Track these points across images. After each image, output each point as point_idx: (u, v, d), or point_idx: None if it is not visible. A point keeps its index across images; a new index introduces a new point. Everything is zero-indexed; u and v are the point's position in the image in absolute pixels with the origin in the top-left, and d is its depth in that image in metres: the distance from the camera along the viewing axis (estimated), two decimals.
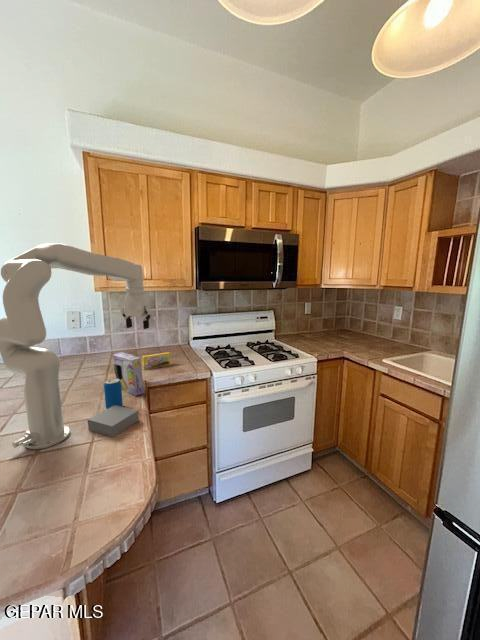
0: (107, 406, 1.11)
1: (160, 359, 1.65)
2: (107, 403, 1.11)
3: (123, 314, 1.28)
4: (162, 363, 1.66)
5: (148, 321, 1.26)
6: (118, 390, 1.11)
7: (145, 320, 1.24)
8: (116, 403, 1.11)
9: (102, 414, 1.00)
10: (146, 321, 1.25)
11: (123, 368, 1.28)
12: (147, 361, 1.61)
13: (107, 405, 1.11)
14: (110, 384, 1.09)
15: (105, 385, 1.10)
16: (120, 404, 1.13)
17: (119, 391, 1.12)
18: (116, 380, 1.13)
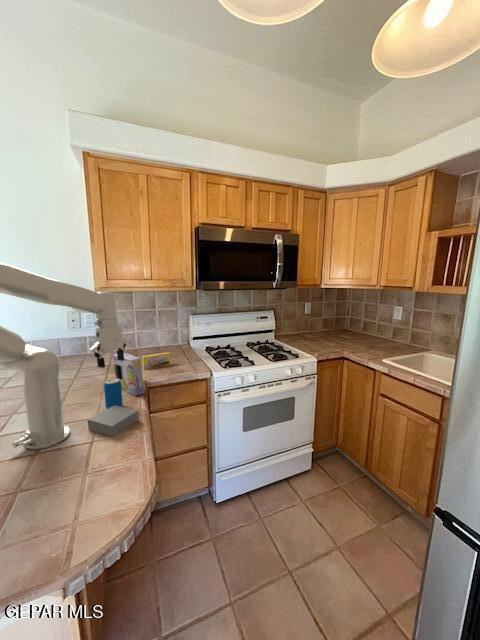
0: (107, 406, 1.11)
1: (160, 359, 1.65)
2: (107, 403, 1.11)
3: (97, 353, 1.04)
4: (162, 363, 1.66)
5: None
6: (118, 390, 1.11)
7: None
8: (116, 403, 1.11)
9: (102, 414, 1.00)
10: (123, 351, 1.16)
11: (123, 368, 1.28)
12: (147, 361, 1.61)
13: (107, 405, 1.11)
14: (110, 384, 1.09)
15: (105, 385, 1.10)
16: (120, 404, 1.13)
17: (119, 391, 1.12)
18: (116, 380, 1.13)
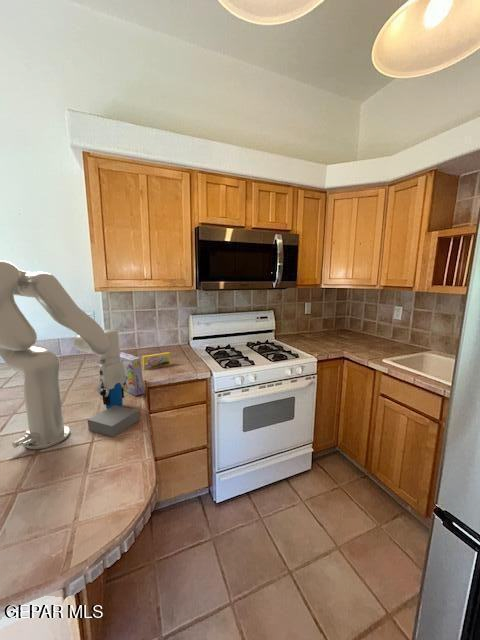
0: (107, 406, 1.11)
1: (160, 359, 1.65)
2: None
3: (102, 392, 1.07)
4: (162, 363, 1.66)
5: None
6: (118, 390, 1.11)
7: (123, 388, 1.16)
8: (116, 403, 1.11)
9: (102, 414, 1.00)
10: None
11: None
12: (147, 361, 1.61)
13: (107, 405, 1.11)
14: None
15: None
16: (120, 404, 1.13)
17: (119, 391, 1.12)
18: None
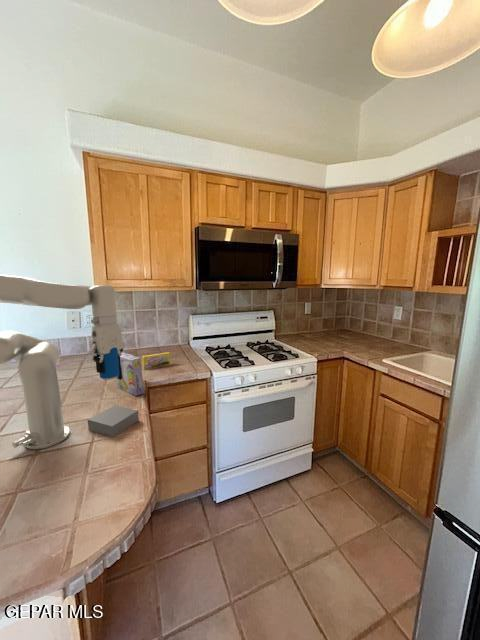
0: (101, 374, 0.95)
1: (160, 359, 1.65)
2: None
3: (96, 356, 0.92)
4: (162, 363, 1.66)
5: None
6: (114, 356, 0.96)
7: (120, 355, 1.01)
8: (112, 371, 0.96)
9: (102, 414, 1.00)
10: (119, 357, 1.01)
11: (123, 368, 1.28)
12: (147, 361, 1.61)
13: (101, 373, 0.95)
14: None
15: None
16: (117, 373, 0.97)
17: (115, 357, 0.96)
18: None
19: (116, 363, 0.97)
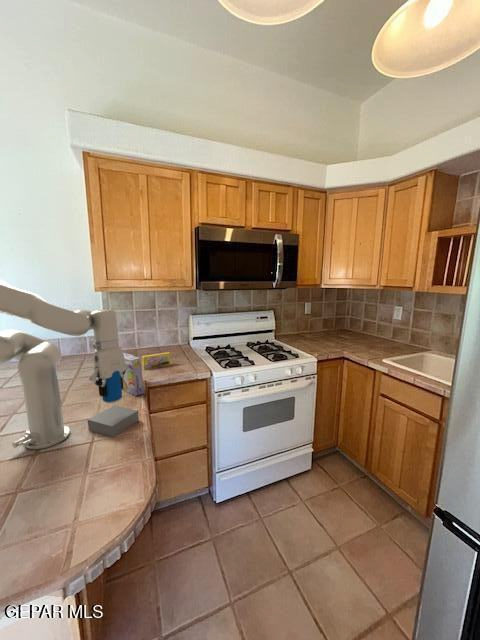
0: (104, 398, 0.96)
1: (160, 359, 1.65)
2: None
3: (98, 381, 0.92)
4: (162, 363, 1.66)
5: None
6: (117, 379, 0.96)
7: None
8: (114, 394, 0.96)
9: (102, 414, 1.00)
10: (122, 379, 1.02)
11: None
12: (147, 361, 1.61)
13: (104, 397, 0.96)
14: None
15: None
16: (119, 396, 0.98)
17: (118, 381, 0.97)
18: None
19: (118, 386, 0.97)
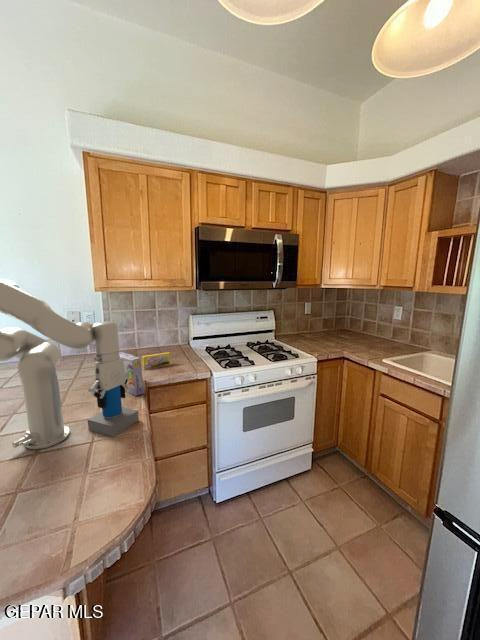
0: (104, 413, 0.97)
1: (160, 359, 1.65)
2: (104, 410, 0.96)
3: (97, 393, 0.92)
4: (162, 363, 1.66)
5: None
6: (117, 395, 0.97)
7: None
8: (114, 409, 0.97)
9: (102, 414, 1.00)
10: (124, 388, 1.03)
11: None
12: (147, 361, 1.61)
13: (104, 412, 0.97)
14: None
15: None
16: (119, 411, 0.99)
17: (118, 396, 0.98)
18: None
19: (118, 401, 0.98)
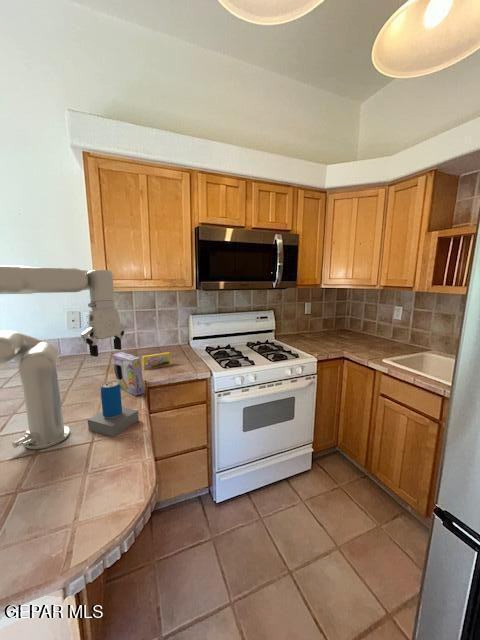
0: (104, 413, 0.97)
1: (160, 359, 1.65)
2: (104, 410, 0.96)
3: (89, 339, 0.90)
4: (162, 363, 1.66)
5: None
6: (117, 395, 0.97)
7: (121, 338, 1.02)
8: (115, 409, 0.97)
9: (102, 414, 1.00)
10: (120, 340, 1.02)
11: (123, 368, 1.28)
12: (147, 361, 1.61)
13: (104, 412, 0.97)
14: (108, 388, 0.95)
15: (102, 389, 0.96)
16: (119, 411, 0.99)
17: (118, 396, 0.98)
18: (115, 383, 0.99)
19: (119, 401, 0.98)
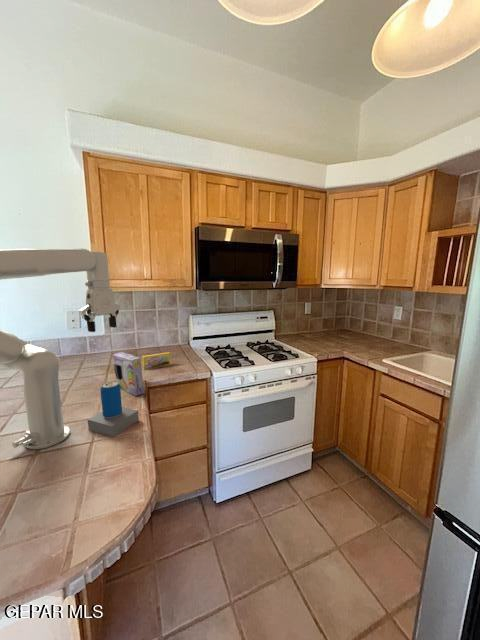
0: (104, 413, 0.97)
1: (160, 359, 1.65)
2: (104, 410, 0.96)
3: (87, 315, 0.98)
4: (162, 363, 1.66)
5: None
6: (117, 395, 0.97)
7: None
8: (115, 409, 0.97)
9: (102, 414, 1.00)
10: (115, 318, 1.10)
11: (123, 368, 1.28)
12: (147, 361, 1.61)
13: (104, 412, 0.97)
14: (108, 388, 0.95)
15: (102, 389, 0.96)
16: (119, 411, 0.99)
17: (118, 396, 0.98)
18: (114, 383, 0.99)
19: (119, 401, 0.98)
